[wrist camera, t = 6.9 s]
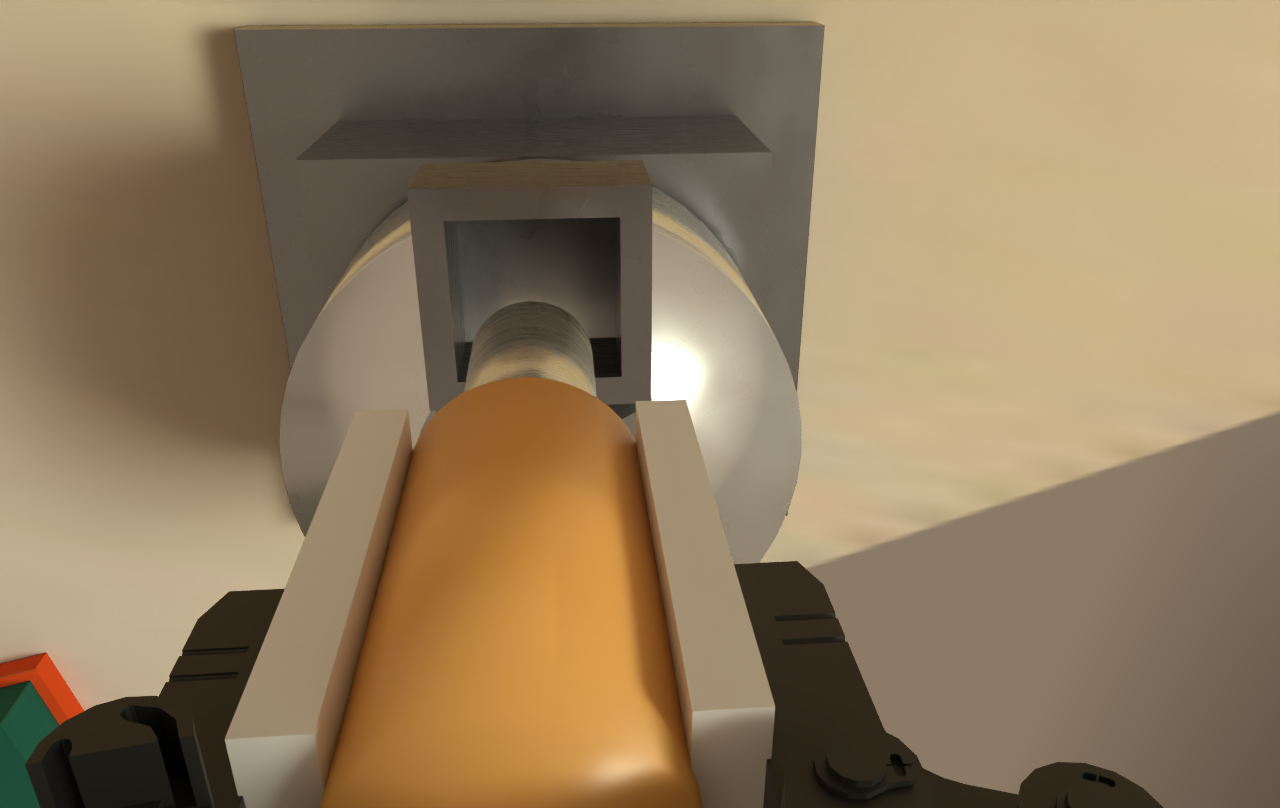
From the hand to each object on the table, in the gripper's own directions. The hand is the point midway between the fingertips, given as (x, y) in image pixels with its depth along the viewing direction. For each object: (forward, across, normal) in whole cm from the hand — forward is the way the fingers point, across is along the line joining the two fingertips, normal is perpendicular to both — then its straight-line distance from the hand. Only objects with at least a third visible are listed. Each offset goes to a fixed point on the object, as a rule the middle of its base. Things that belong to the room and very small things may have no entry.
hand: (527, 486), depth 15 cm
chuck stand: (+24, 0, -5) cm, 25 cm away
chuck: (+16, 0, -5) cm, 17 cm away
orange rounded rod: (+5, 0, 0) cm, 5 cm away
